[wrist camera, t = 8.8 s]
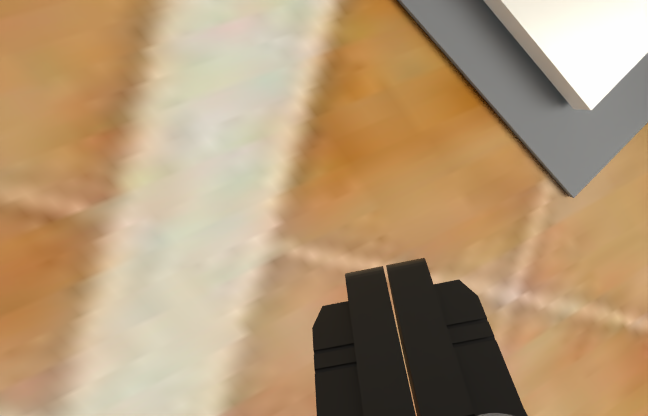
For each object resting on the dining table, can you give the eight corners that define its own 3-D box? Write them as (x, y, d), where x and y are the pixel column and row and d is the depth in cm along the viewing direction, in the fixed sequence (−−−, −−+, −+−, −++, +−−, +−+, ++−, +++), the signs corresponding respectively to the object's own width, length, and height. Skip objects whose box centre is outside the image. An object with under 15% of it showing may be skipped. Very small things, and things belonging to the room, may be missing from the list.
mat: (379, -20, 31) (381, -22, 30) (535, -183, 30) (539, -186, 30) (569, 196, 35) (573, 197, 35) (707, 55, 35) (713, 55, 34)
